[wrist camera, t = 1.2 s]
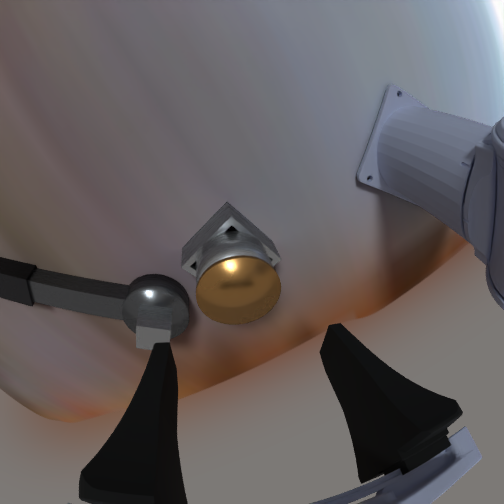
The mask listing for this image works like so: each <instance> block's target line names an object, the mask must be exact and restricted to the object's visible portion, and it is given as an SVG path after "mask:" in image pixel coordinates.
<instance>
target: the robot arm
mask: <svg viewBox="0 0 504 504" xmlns="http://www.w3.org/2000/svg"><path fill="white" fill-rule="evenodd" d="M397 92H399V96H397ZM369 175H370V178H369V180H367V177H368V176H369ZM357 179H358V181H360V182H361V183H364V184H366V185H369V186H372V187H374V188H377V189H379V190H382V191H384V192H387V193H389V194H392V195H394V196H397V197H399V198H401V199H404V200H406V201H408V202H411V203H413V204H415V205H417V206H420V207H421V208H423V209H424V210H426V211H427V212H429V213H430V214H432V215H433V216H435V217H436V218H437V219H439V220H440V221H442V222H443V223H444V224H446V225H447V226H448V227H450V228H451V229H452V230H454V231H455V232H456V233H458V234H459V235H460V236H462V237H463V238H464V239H465V240H467V241H468V242H469V243H470V244H472V245H473V246H474V249H475V256H476V257H477V258H479V259H480V260H481V261H482V262H483V263H484V264H485V265H486V280H487V285H488V288H489V291H490V293H491V294H492V296H493V298H494V300H495V301H496V302H497V303H498V305H500V307H501V308H502V309H503V310H504V117H503V118H502V119H501V120H500V121H498V122H497V123H496V124H495V125H494V126H493V127H491V126H488V125H485V124H482V123H479V122H476V121H473V120H470V119H466V118H463V117H459V116H456V115H452V114H448V113H444V112H440V111H435V110H431V109H429V108H428V107H426V106H425V105H424V104H422V103H421V102H420V101H418V100H417V99H415V98H414V97H413V96H411V95H410V94H408V93H407V92H406V91H404V90H403V89H401V88H400V87H398V86H397V85H394V84H390V85H388V86H387V89H386V92H385V95H384V99H383V102H382V105H381V108H380V111H379V114H378V117H377V120H376V123H375V126H374V129H373V132H372V134H371V137H370V140H369V143H368V146H367V148H366V151H365V154H364V157H363V159H362V162H361V165H360V167H359V170H358V172H357ZM320 355H321V359H322V362H323V365H324V368H325V371H326V374H327V375H328V378H329V380H330V383H331V385H332V387H333V389H334V391H335V394H336V396H337V398H338V400H339V402H340V404H341V407H342V409H343V412H344V415H345V418H346V421H347V424H348V428H349V431H350V435H351V439H352V443H353V447H354V452H355V457H356V463H357V468H358V477H359V480H360V482H361V483H364V482H367V481H369V480H371V479H373V478H376V477H378V476H380V475H383V474H384V475H385V476H383V477H381V478H379V479H377V480H374V481H372V482H370V483H367V484H365V485H363V486H360V487H357V488H355V489H353V490H350V491H347V492H344V493H342V494H339V495H336V496H333V497H330V498H327V499H324V500H320V501H317V502H313V503H310V504H348V503H351V502H353V501H356V500H358V499H361V498H363V497H365V496H368V495H370V494H372V493H375V492H377V493H376V496H375V497H373V498H370V499H368V500H365V501H363V502H360V503H358V504H431V503H432V502H433V501H435V500H436V499H437V498H438V497H439V496H441V495H442V494H443V493H444V492H445V491H447V490H448V489H449V488H450V487H451V486H452V485H453V484H454V483H456V482H457V481H458V480H459V479H460V478H461V477H462V476H463V475H464V474H465V473H466V472H468V471H469V470H470V469H471V468H472V467H473V466H474V465H475V464H476V463H478V462H479V461H480V460H481V459H482V456H481V454H480V452H479V450H478V448H477V446H476V444H475V442H474V440H473V439H472V437H471V435H470V433H469V431H468V429H467V427H466V426H464V427H463V428H462V429H461V430H459V431H458V432H456V433H455V434H454V435H452V436H451V437H449V438H447V436H446V435H447V434H448V433H449V432H448V430H447V427H449V426H450V425H451V424H452V423H453V422H455V421H456V420H457V419H458V418H459V417H460V416H461V415H462V413H463V412H462V410H461V408H460V407H459V405H458V403H457V402H456V400H454V399H450V398H447V397H445V396H441V395H439V394H437V393H434V392H432V391H430V390H427V389H425V388H423V387H421V386H419V385H417V384H416V383H414V382H412V381H410V380H409V379H407V378H405V377H404V376H402V375H401V374H399V373H398V372H396V371H395V370H393V369H392V368H391V367H389V366H388V365H387V364H386V363H384V362H383V361H382V360H380V359H379V358H378V357H377V356H376V355H374V354H373V353H372V352H371V351H370V350H369V349H367V348H366V347H365V346H364V345H363V344H362V343H361V342H360V341H359V340H358V339H357V338H356V337H355V336H354V335H352V334H351V333H350V332H349V331H348V330H347V329H346V328H345V327H344V326H343V325H342V324H341V323H338V324H333V325H329V326H328V329H327V333H326V335H325V338H324V341H323V344H322V347H321V350H320ZM177 404H178V382H177V368H176V365H175V361H174V358H173V354H172V350H171V346H170V342H160V343H155V344H154V345H153V349H152V352H151V355H150V358H149V361H148V364H147V366H146V369H145V372H144V374H143V376H142V379H141V381H140V384H139V386H138V388H137V390H136V392H135V394H134V396H133V398H132V401H131V403H130V404H129V406H128V408H127V410H126V412H125V414H124V415H123V417H122V419H121V421H120V422H119V424H118V425H117V427H116V428H115V430H114V432H113V433H112V434H111V436H110V437H109V439H108V440H107V442H106V443H105V444H104V445H103V447H102V448H101V449H100V451H99V452H98V453H97V454H96V456H95V457H94V458H93V459H92V460H91V461H90V462H89V463H88V464H87V465H86V467H85V468H84V469H83V470H82V471H81V475H80V480H79V498H80V499H81V500H82V501H85V502H88V503H91V504H187V499H186V494H185V489H184V484H183V479H182V472H181V466H180V458H179V450H178V441H177V407H178V405H177ZM67 504H70V503H67Z"/></svg>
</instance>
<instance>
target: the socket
mask: <svg viewBox="0 0 504 504" xmlns="http://www.w3.org/2000/svg"><path fill="white" fill-rule="evenodd" d="M231 225H232V226H233V227H234V228H236V229H237V230H238V231H228V232H225V231H226V230H227V229H228V228H229V227H230V226H231ZM280 260H281V257H280V255H279V253H278V251H277V249H276V247H275V245H274V243H273V241H272V240H271V239H269V238H268V237H267V236H266V235H265V234H264V233H263V232H261V231H260V230H259V229H258V228H257V227H256V226H255V225H254V224H252V223H251V222H250V221H249V220H248V219H247V218H246V217H244V216H243V215H242V214H241V213H240V212H239V211H237V210H236V209H235V208H234V207H233V206H232V205H231V204H229V203H228V202H226V203H225V204H224V205H223V206H222V207H221V208H220V209H219V210H218V211H217V212H216V213H215V214H214V215H213V216H212V217H211V218H210V219H209V220H208V222H207V223H206V224H205V225H204V226H203V227H202V228H201V229H200V230H199V231H198V232H197V233H196V234H195V235H194V236H193V237H192V238H191V239H190V240H189V241H188V242H187V243H186V245H185V246H184V247H183V248H182V260H181V268H183V269H184V270H186V271H187V272H189V273H190V274H192V275H193V276H195V277H196V281H197V286H196V299H197V303H198V306H199V308H200V309H201V311H202V312H203V313H204V314H205V315H206V316H207V317H209V318H210V319H212V320H214V321H217V322H220V323H224V324H244V323H248V322H251V321H254V320H257V319H259V318H260V317H262V316H264V315H265V314H267V313H268V312H269V311H270V310H271V309H272V308H273V307H274V306H275V304H276V303H277V301H278V299H279V296H280V292H281V283H280V279H279V277H278V274H277V272H276V271H275V269H274V267H273V266H274V265H276V264H277V263H278V262H279V261H280Z"/></svg>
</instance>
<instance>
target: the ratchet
mask: <svg viewBox="0 0 504 504" xmlns="http://www.w3.org/2000/svg"><path fill="white" fill-rule="evenodd" d="M0 297H1V298H4V299H8V300H11V301H14V302H18V303H21V304H25V305H29V306H33V305H34V303H35V302H37V303H41V304H45V305H49V306H54V307H58V308H63V309H67V310H72V311H76V312H81V313H86V314H91V315H97V316H102V317H108V318H114V319H119V320H124V322H125V324H126V325H127V326H128V328H129V329H131V330H132V331H133V332H134V333H136V348H141V349H148V350H152V349H153V345H154V344H155V343H160V342H170V339H171V338H174V337H176V336H178V335H180V334H181V333H182V332H183V331H184V330H185V329H186V328H187V326H188V323H189V298H188V294H187V292H186V290H185V289H184V287H183V286H182V285H181V284H180V283H179V282H177V281H176V280H174V279H172V278H170V277H168V276H164V275H160V274H148V275H144V276H141V277H138V278H137V279H135V280H134V281H133V282H132V283H131V284H130V285H123V284H117V283H111V282H105V281H99V280H93V279H88V278H82V277H77V276H72V275H67V274H62V273H57V272H52V271H47V270H42V269H38V268H36V265H32V264H28V263H23V262H19V261H14V260H10V259H6V258H2V257H0Z"/></svg>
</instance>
